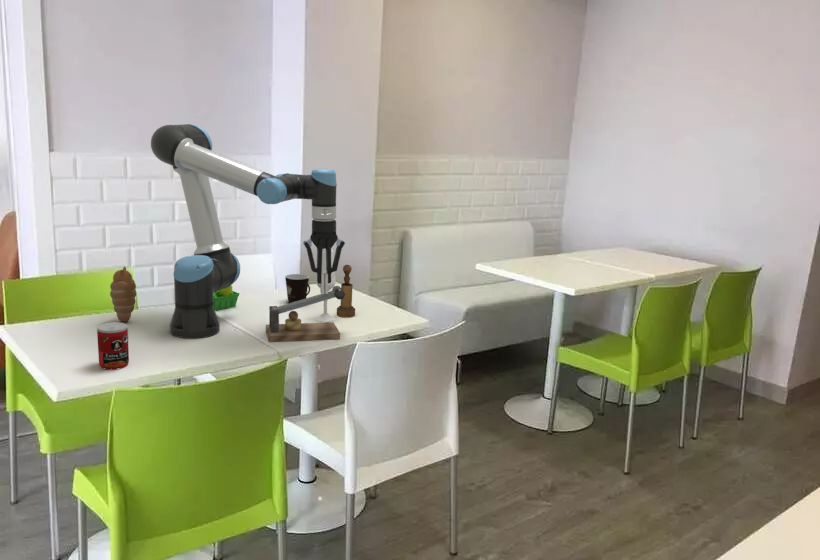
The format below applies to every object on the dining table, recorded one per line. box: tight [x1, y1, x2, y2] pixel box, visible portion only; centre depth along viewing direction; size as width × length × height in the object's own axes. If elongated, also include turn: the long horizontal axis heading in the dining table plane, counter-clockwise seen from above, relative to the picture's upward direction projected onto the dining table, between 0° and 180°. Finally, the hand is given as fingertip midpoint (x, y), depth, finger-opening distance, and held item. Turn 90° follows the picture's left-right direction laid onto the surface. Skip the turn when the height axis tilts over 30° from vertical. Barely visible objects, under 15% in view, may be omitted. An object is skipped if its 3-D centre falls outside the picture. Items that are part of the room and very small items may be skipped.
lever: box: [270, 285, 345, 315], centre depth 230 cm, size 24×6×3 cm, turn 105°
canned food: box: [96, 321, 130, 370], centre depth 198 cm, size 8×8×11 cm
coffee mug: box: [284, 273, 311, 304], centre depth 267 cm, size 12×9×10 cm
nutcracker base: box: [265, 305, 341, 343], centre depth 231 cm, size 22×12×9 cm, turn 106°
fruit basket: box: [213, 284, 240, 311], centre depth 257 cm, size 11×9×11 cm
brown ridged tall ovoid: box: [109, 266, 137, 323], centre depth 235 cm, size 9×8×18 cm
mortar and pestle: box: [336, 264, 356, 318], centre depth 255 cm, size 7×6×18 cm
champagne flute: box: [315, 249, 337, 323], centre depth 248 cm, size 7×7×24 cm
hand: (324, 293), depth 231 cm, fingers closed
